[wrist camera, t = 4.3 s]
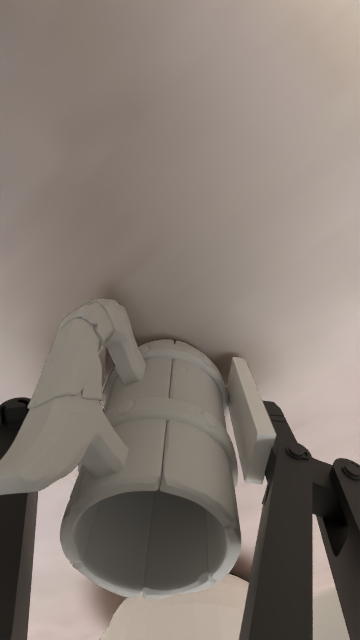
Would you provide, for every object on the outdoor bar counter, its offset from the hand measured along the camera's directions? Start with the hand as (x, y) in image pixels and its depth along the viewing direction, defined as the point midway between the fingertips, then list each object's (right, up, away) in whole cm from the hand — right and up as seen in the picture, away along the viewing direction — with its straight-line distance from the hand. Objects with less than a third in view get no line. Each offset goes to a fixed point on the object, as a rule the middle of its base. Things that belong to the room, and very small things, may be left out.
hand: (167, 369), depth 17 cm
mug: (-1, 0, +1) cm, 1 cm away
